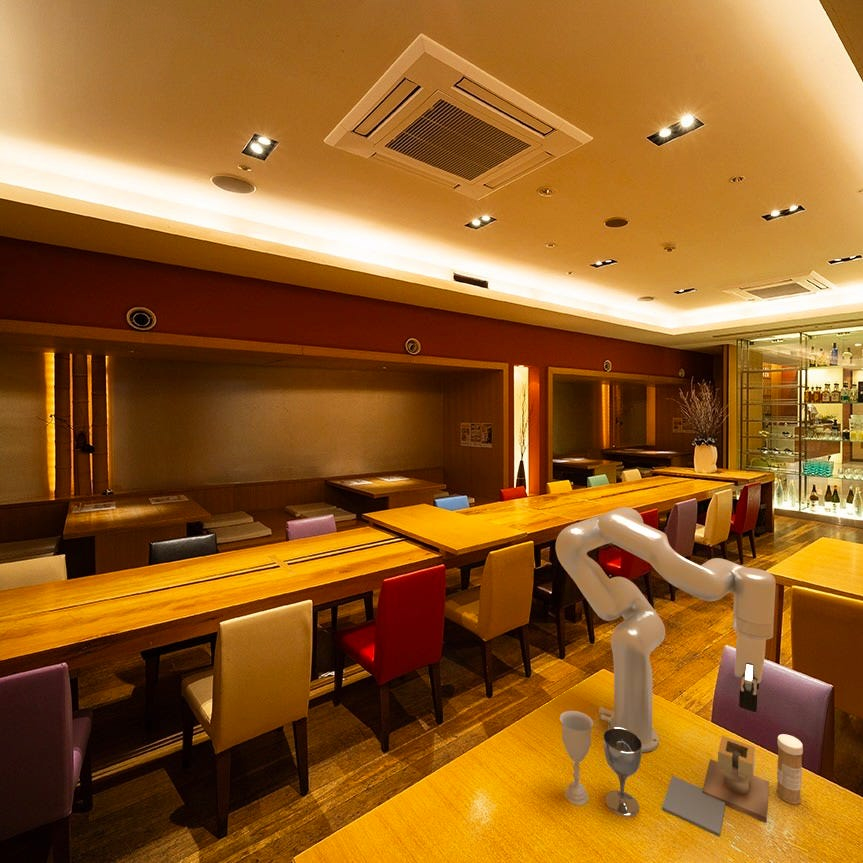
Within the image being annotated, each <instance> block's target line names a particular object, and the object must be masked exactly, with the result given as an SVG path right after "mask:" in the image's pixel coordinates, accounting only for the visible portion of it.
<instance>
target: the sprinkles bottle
mask: <svg viewBox="0 0 863 863" xmlns="http://www.w3.org/2000/svg"><path fill="white" fill-rule="evenodd" d="M803 746H804V745H803V743H802V742H801V740H800V739H798V738H797V737H795V736H793V735H789V734H784V733H782V734H779V735H778V736H777V747H778V748H777V749H778V750H777V752H778V754H777V755H778V756H777V767H776V768H777V771H776V775H777V776H776V779H777V784H776V785H777V787H776V793H777V796H778V797H779V798H780V799H782V800H783V801H785V802H787V803H789V804H791V805H798V804H801V803H802V798H801V796H802V795H801V793H802V790H801V789H802V774H803V773H802V772H803V770H802V769H803V766H802V761H803V760H802V757H803V752H804V747H803Z"/></svg>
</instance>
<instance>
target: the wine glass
mask: <svg viewBox="0 0 863 863" xmlns="http://www.w3.org/2000/svg"><path fill="white" fill-rule="evenodd" d="M603 751H604V756H605V761H606V762H607V765H608V766H609V768H610V769H611V770H612V771H613V773H615V775H616V776H617V777H618V781H619V782H618V783H619V786H620V787H619V788H620V790H611V791H609V792H607V794H606V795H605V800H604V801H605V804H606V806H607V807H608V809H609V810H610V811H611V812H613V813H614V814H616V815H618V816H620V817H623V818H633V817H636V816H637V815H638V814H639V812H640V803H638V801H637V799H636V798H635V797H634V796H632V795H631V794H629V793H628V792H625V786H626V781H627V780H628V778H629V777H632V776H634V775H635V773H637V772H638V770H639V768H640V765H641V760H642V755H643V752H642V743H641V740H640V738H639V737H638V736H637V735H636V734H634V733H633V732H631V731H629V730H627V729H623V728H610V729H608V728H607V729H606V730H605V731H604V732H603Z"/></svg>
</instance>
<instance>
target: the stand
mask: <svg viewBox="0 0 863 863" xmlns="http://www.w3.org/2000/svg"><path fill="white" fill-rule="evenodd" d="M732 753H733V766H732V774H731V773H728V772H726V771H723V770H721V769H718V760H714V759H712V758H710V759H709V762H708V766H707V771H706V774H705V778H704V782H703V787H702V788H703V790H702V793H704V794H706V795H708V796H711V797H713V798H715V799H718V800H720V801H722V802H725V807H726V806H727V807H728V808H731V809H733V810H735V811H738V812H740V813H743V814H745V815H747V816H749V817H752V818H754V819H757V820H758V821H761V822H763V823H764V824H765V823H767V821H768V806H769V795H770V793H769V791H770V781H769V780H767V779H765V778H761V777H758V776H756V775H753V782H751V781H749V780H746V779H744V778H741V777H739V776H738V759H739V756H741V753H739V752H738V751H732Z"/></svg>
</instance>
